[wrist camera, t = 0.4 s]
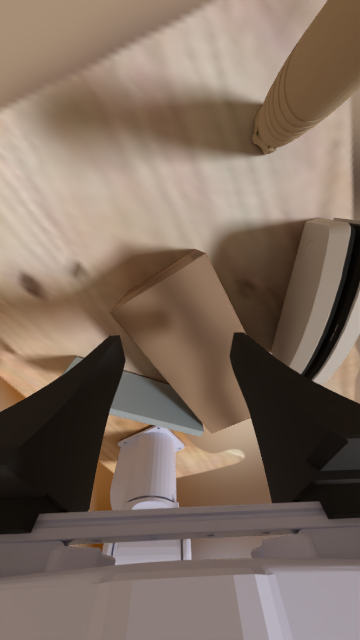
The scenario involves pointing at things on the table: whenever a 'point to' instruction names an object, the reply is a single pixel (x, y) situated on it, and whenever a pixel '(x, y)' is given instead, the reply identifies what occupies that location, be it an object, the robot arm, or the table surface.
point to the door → (151, 404)
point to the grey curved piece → (321, 300)
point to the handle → (313, 77)
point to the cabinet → (188, 336)
